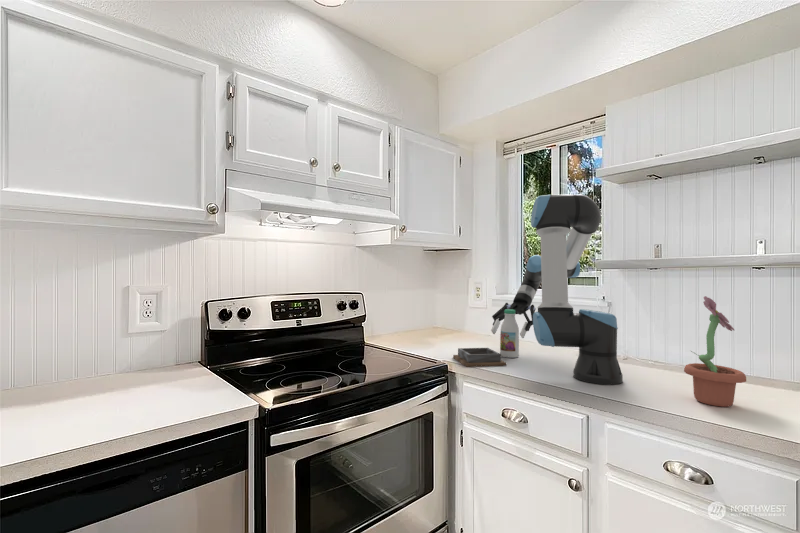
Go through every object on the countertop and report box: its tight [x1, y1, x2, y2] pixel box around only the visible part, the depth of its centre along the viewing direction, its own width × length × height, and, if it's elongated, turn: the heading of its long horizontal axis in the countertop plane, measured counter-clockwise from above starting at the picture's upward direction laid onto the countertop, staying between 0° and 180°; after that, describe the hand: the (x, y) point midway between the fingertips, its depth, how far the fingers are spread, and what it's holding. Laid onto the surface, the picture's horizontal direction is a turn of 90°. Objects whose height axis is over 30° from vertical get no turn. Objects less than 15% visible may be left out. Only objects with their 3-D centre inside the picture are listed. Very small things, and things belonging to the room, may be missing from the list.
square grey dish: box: [453, 347, 507, 368], centre depth 162 cm, size 16×16×4 cm
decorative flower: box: [683, 296, 747, 408], centre depth 113 cm, size 15×14×30 cm
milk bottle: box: [499, 309, 520, 359], centre depth 173 cm, size 8×8×20 cm
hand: (506, 334), depth 171 cm, fingers open, 13 cm apart
